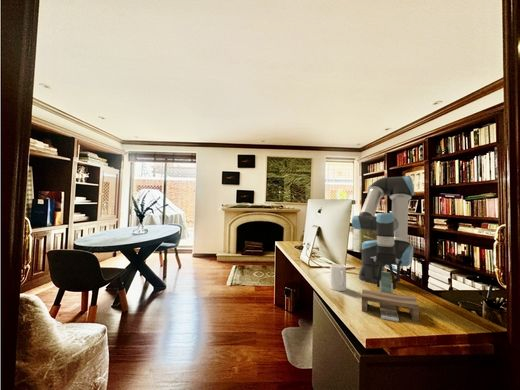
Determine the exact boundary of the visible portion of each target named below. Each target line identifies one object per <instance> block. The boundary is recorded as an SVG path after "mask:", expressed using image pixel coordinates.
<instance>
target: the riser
mask: <svg viewBox="0 0 520 390" xmlns="http://www.w3.org/2000/svg"><path fill="white" fill-rule="evenodd" d="M361 291H362V292H361V312H365V313H367V312H368V304H369V303H368V302H371V303H377V304H380V303H383V304H389V305H395V306H396V307H402V308H408V310H409V314H410V316H411V320H412V321H414V320H415V322H420V315H419V314H420V312H419V309H420V308H419V306H420V305H419V303H418V301H417V299H416V297H415V296H412V295H407V294H406V295H405V294H398V293H394V292H393V293H386V292H380V290H379V291H377V290H371V289H364V288H363V289H362V290H361Z"/></svg>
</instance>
